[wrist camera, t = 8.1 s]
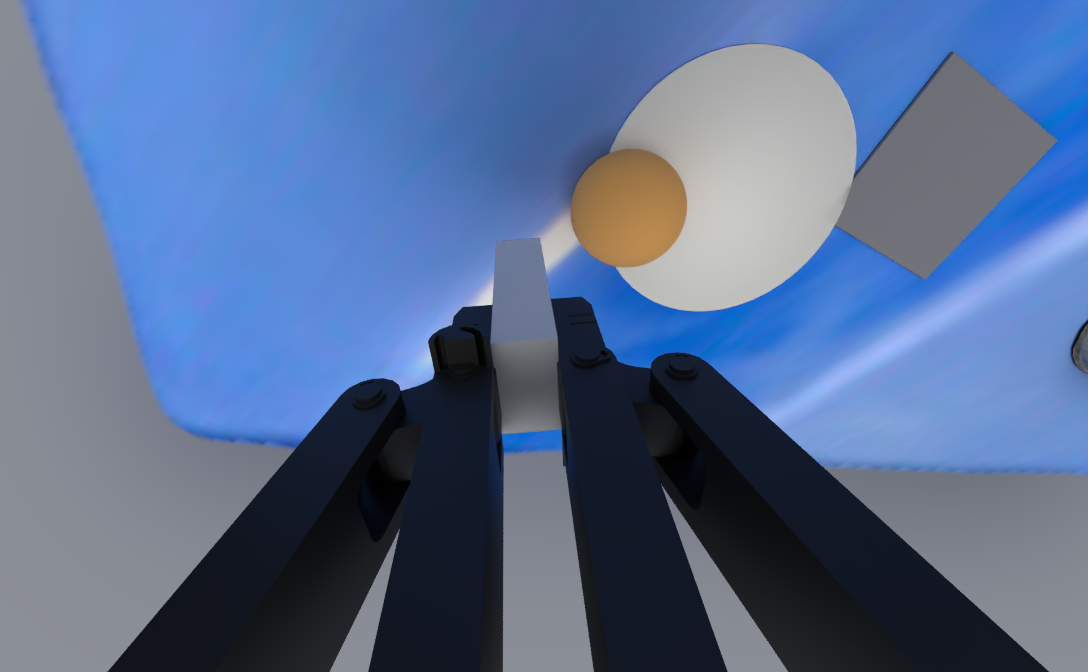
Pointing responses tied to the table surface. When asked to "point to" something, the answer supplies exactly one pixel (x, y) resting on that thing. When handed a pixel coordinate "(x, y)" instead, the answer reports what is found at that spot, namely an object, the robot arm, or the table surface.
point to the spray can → (1082, 351)
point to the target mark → (744, 171)
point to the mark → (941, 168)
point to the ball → (628, 208)
